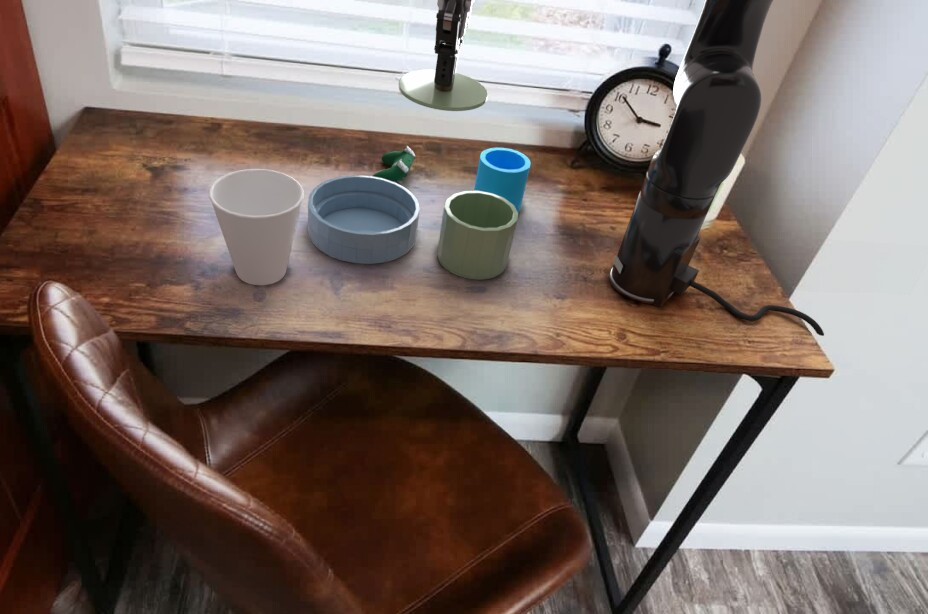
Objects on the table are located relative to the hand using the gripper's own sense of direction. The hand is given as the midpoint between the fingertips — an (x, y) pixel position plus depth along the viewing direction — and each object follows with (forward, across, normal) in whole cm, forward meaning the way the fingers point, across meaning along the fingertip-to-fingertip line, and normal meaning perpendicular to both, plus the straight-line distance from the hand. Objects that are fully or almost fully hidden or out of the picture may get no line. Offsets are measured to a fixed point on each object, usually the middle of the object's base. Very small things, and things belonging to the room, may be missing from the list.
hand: (444, 79), depth 88 cm
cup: (+26, -13, +20) cm, 35 cm away
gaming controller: (+26, +20, +8) cm, 33 cm away
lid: (+1, 0, 0) cm, 1 cm away
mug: (+26, +18, -10) cm, 33 cm away
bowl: (+26, 0, +9) cm, 27 cm away
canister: (+25, 0, -8) cm, 27 cm away
